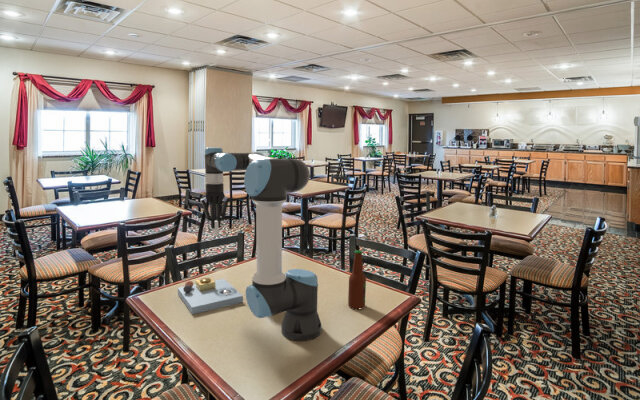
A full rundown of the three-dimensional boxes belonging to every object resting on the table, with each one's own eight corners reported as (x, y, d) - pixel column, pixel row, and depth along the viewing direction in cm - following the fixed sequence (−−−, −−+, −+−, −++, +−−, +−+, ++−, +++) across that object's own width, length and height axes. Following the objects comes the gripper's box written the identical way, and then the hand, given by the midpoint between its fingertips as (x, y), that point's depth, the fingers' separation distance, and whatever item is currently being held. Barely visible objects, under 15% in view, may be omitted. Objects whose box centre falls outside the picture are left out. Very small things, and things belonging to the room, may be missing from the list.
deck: (243, 302, 163) (242, 295, 163) (192, 314, 151) (191, 307, 151) (224, 284, 183) (224, 278, 182) (177, 294, 171) (177, 287, 170)
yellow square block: (215, 288, 170) (215, 280, 170) (200, 291, 166) (199, 283, 166) (210, 283, 176) (210, 276, 175) (195, 286, 172) (195, 278, 172)
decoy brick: (194, 288, 170) (194, 281, 169) (186, 290, 168) (186, 282, 167) (192, 285, 173) (191, 278, 172) (184, 287, 171) (184, 280, 170)
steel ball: (225, 300, 165) (232, 296, 167) (222, 294, 164) (229, 290, 166) (222, 298, 168) (229, 294, 170) (219, 291, 167) (226, 287, 169)
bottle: (368, 308, 160) (370, 252, 156) (354, 311, 156) (356, 254, 152) (358, 301, 166) (360, 247, 162) (344, 305, 162) (346, 250, 158)
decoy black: (192, 293, 165) (192, 285, 164) (184, 294, 163) (184, 287, 162) (190, 290, 168) (190, 283, 167) (182, 292, 166) (182, 284, 165)
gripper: (226, 181, 169) (227, 231, 172) (197, 182, 161) (198, 235, 165) (232, 183, 163) (233, 235, 166) (202, 184, 155) (203, 239, 159)
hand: (216, 235), depth 166 cm, fingers closed
